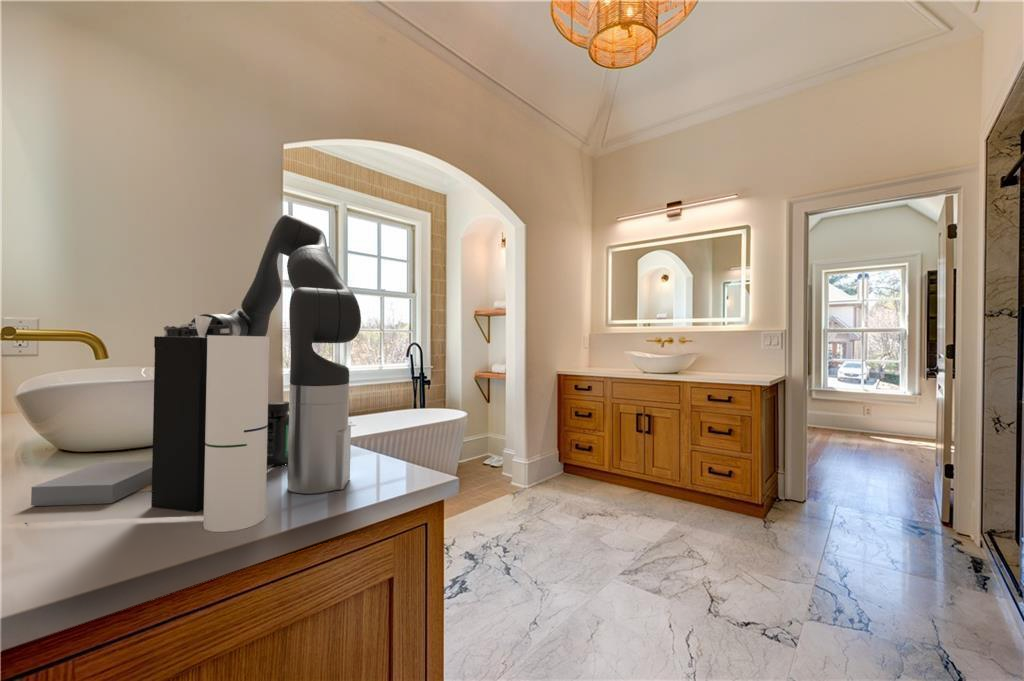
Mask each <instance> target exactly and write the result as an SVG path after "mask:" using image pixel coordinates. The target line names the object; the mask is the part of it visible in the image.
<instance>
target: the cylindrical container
mask: <svg viewBox="0 0 1024 681" xmlns="http://www.w3.org/2000/svg"><path fill="white" fill-rule="evenodd" d="M269 371H270V336H215V335H207V382H206V428H205V443H206V444H205V477H204V510H203V526H202V527H203V529H205V531H209V532H213V533H215V532H216V533H225V532H228V533H229V532H234V531H240V530H244V529H247V528H250V527H253V526H255V525H258V524H260V523H262V522H263V521H264V520H265V518H266V513H267V510H266V509H267V474H268V473H267V472H268V471H267V470H268V469H267V467H268V465H267V425H268V402H269V379H270V378H269V377H270V376H269V373H270V372H269Z"/></svg>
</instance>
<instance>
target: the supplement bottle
mask: <svg viewBox="0 0 1024 681" xmlns="http://www.w3.org/2000/svg"><path fill="white" fill-rule="evenodd" d="M288 442H289V401H285V400H282V401H281V400H272V401H271V400H270V401H268V425H267V466H270V468H277V467H276V466H279V467H283V466H282V465H284V466H286V465H285V464H287V465H288Z"/></svg>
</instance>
